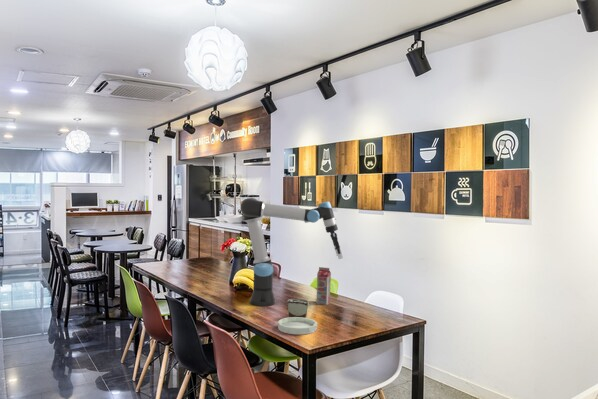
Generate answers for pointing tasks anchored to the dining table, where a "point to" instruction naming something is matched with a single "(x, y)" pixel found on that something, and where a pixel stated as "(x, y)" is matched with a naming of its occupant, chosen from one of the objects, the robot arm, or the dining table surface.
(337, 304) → the dining table surface
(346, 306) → the dining table surface
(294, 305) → the food container
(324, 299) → the juice carton
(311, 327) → the round tray
